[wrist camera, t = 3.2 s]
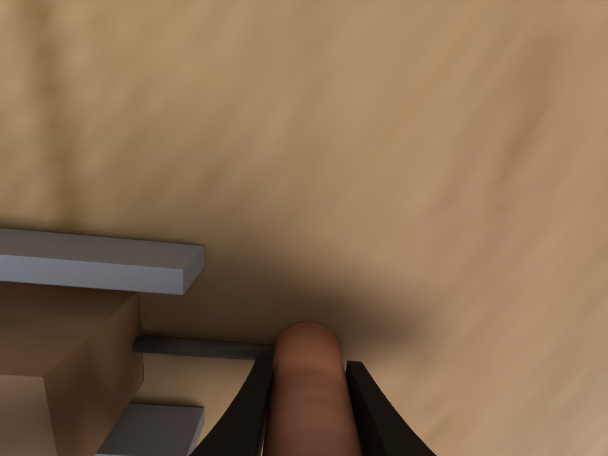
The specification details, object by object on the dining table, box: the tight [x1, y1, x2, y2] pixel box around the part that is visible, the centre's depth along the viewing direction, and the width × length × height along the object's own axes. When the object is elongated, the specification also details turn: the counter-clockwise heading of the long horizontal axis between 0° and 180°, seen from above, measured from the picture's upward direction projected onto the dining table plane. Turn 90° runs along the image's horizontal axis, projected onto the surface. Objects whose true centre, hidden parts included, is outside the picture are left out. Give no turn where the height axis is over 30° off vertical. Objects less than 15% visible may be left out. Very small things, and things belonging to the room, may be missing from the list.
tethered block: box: [0, 281, 363, 456], centre depth 11 cm, size 5×16×6 cm, turn 84°
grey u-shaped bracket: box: [0, 228, 205, 456], centre depth 12 cm, size 10×12×2 cm
